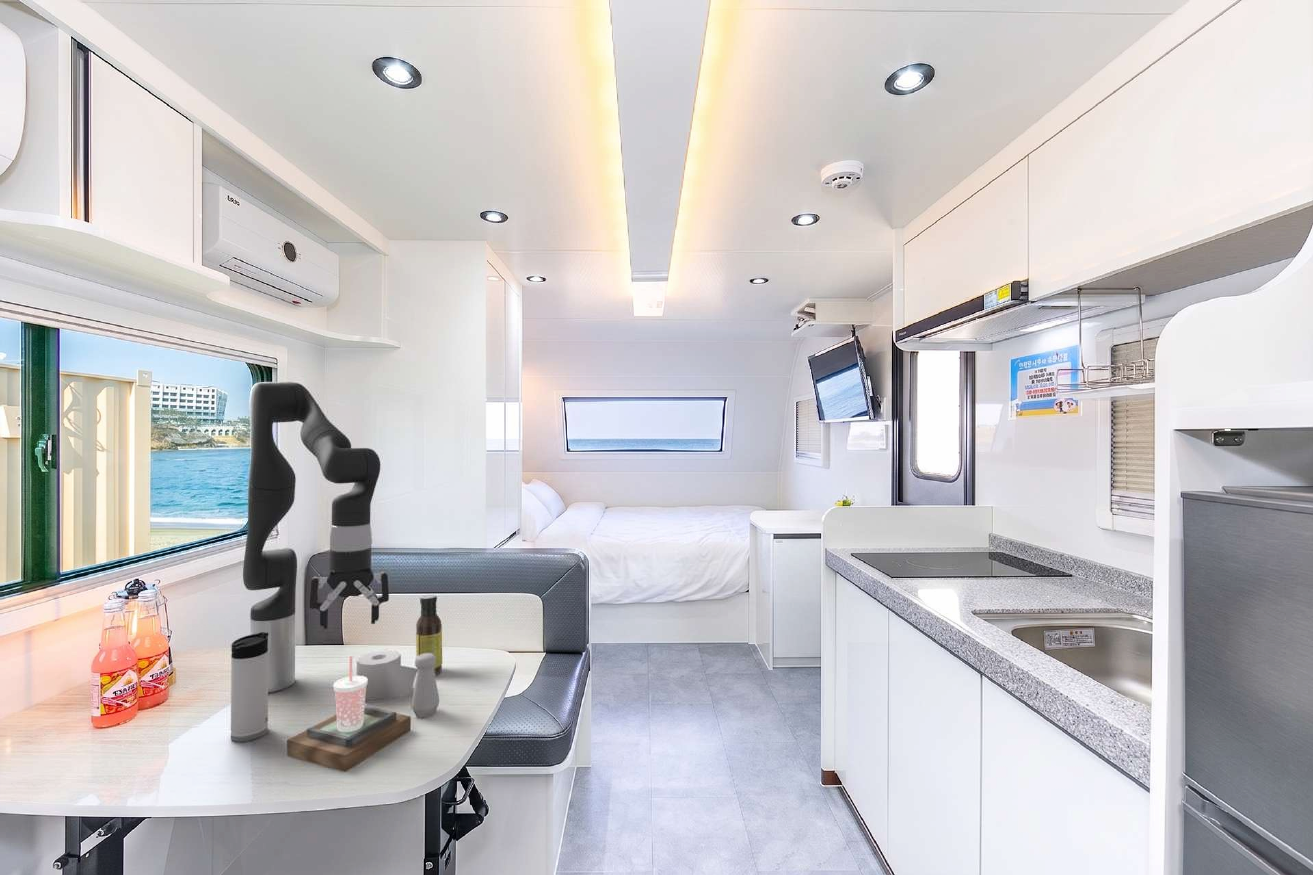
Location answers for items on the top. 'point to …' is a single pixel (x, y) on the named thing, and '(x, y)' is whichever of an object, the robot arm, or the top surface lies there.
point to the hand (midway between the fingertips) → (350, 625)
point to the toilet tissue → (385, 675)
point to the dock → (348, 739)
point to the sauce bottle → (429, 631)
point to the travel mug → (249, 687)
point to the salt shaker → (425, 687)
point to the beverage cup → (350, 701)
